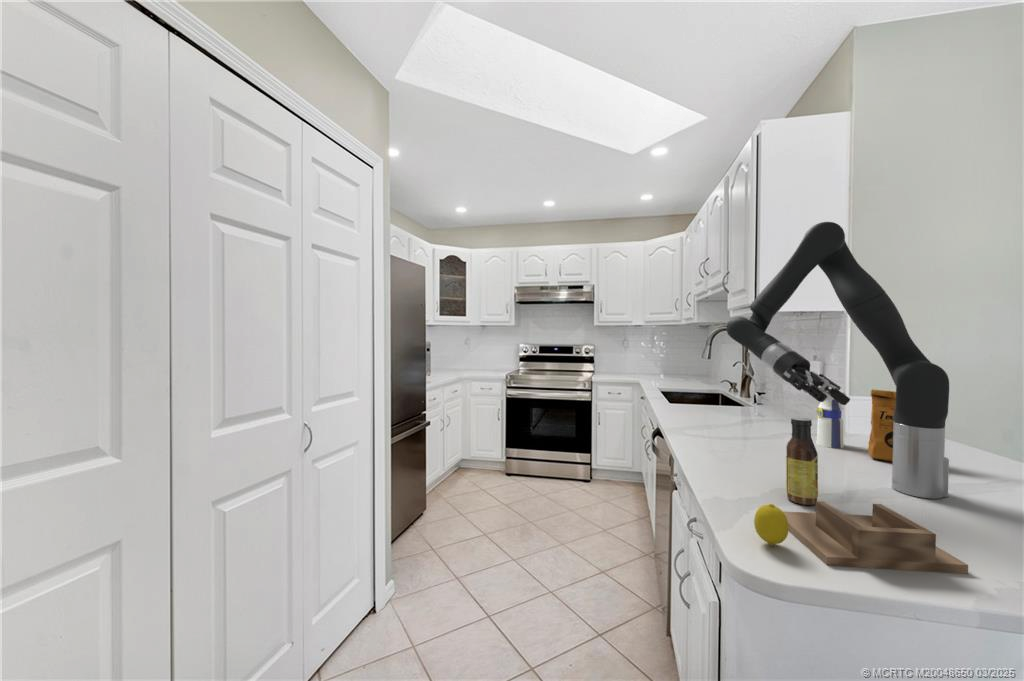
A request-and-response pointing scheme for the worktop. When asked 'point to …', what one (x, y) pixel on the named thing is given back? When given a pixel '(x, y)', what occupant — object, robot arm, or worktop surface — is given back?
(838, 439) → the white and blue bottle
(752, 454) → the worktop surface
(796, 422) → the sauce bottle
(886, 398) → the coffee package
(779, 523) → the lemon
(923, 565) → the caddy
